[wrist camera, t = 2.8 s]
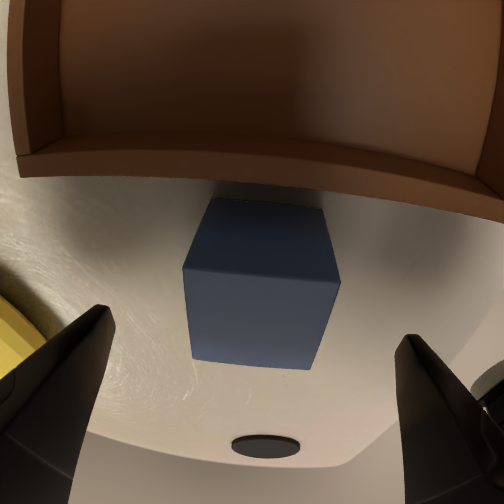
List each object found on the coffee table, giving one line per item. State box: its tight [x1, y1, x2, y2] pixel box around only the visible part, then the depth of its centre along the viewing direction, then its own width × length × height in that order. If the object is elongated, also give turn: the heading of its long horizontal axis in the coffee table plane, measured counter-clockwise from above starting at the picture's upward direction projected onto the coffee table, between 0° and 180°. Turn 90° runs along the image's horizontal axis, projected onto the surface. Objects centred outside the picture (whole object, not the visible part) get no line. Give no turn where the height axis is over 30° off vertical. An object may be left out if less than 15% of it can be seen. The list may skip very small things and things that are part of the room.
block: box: [182, 198, 341, 370], centre depth 10 cm, size 4×4×4 cm
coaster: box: [232, 436, 300, 458], centre depth 25 cm, size 6×6×1 cm
